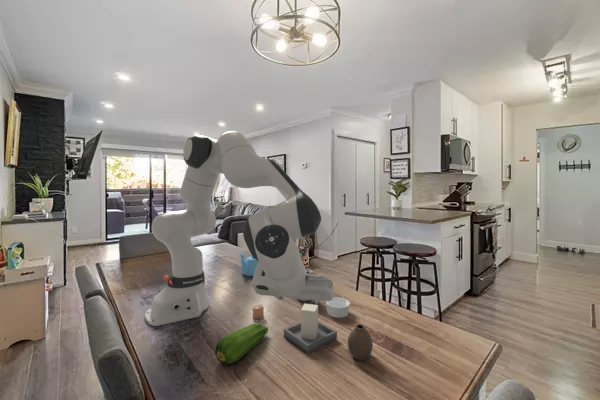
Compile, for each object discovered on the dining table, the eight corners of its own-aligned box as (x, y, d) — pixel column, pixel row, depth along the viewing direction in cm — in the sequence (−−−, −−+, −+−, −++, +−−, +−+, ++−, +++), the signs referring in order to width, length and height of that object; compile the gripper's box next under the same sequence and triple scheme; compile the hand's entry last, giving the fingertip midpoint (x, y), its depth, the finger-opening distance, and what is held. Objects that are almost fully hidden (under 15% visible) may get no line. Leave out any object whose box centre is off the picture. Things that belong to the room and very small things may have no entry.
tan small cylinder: (256, 321, 101) (256, 310, 101) (250, 317, 104) (250, 307, 104) (265, 318, 103) (265, 307, 103) (260, 314, 106) (259, 303, 106)
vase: (345, 349, 84) (345, 320, 83) (367, 348, 85) (368, 319, 84) (351, 364, 77) (351, 333, 77) (375, 363, 78) (376, 332, 77)
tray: (307, 354, 82) (307, 345, 82) (283, 336, 91) (283, 329, 91) (336, 339, 89) (336, 331, 89) (311, 324, 99) (311, 317, 99)
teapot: (268, 277, 147) (268, 257, 146) (239, 279, 144) (238, 259, 143) (266, 268, 161) (266, 250, 160) (239, 270, 158) (239, 252, 157)
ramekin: (351, 309, 110) (351, 299, 109) (347, 320, 101) (347, 309, 101) (329, 306, 112) (329, 296, 112) (323, 317, 104) (323, 305, 104)
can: (312, 302, 116) (312, 274, 115) (294, 301, 117) (294, 273, 116) (315, 295, 123) (315, 268, 122) (298, 294, 125) (298, 267, 124)
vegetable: (214, 336, 77) (262, 308, 93) (206, 355, 79) (255, 324, 96) (231, 356, 73) (278, 323, 90) (223, 375, 75) (270, 340, 92)
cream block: (315, 339, 88) (315, 311, 87) (301, 337, 89) (300, 309, 88) (318, 332, 92) (318, 305, 91) (304, 330, 93) (304, 303, 92)
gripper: (332, 266, 67) (337, 291, 77) (252, 261, 72) (266, 285, 82) (330, 292, 63) (335, 314, 73) (245, 285, 68) (261, 306, 78)
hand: (298, 299), depth 78 cm, fingers open, 8 cm apart
